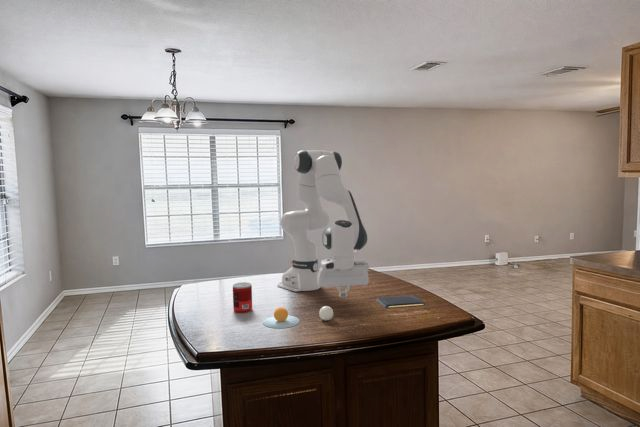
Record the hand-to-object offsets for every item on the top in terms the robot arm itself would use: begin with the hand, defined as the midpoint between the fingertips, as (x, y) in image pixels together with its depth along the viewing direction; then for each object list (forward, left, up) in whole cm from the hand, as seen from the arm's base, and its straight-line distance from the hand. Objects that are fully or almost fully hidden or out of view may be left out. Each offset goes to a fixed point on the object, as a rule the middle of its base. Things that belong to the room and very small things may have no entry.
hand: (343, 296), depth 167 cm
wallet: (+11, +30, -9) cm, 33 cm away
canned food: (-40, -16, -9) cm, 44 cm away
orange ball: (-17, -18, -6) cm, 25 cm away
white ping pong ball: (-3, -7, -6) cm, 9 cm away
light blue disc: (-17, -18, -8) cm, 26 cm away
